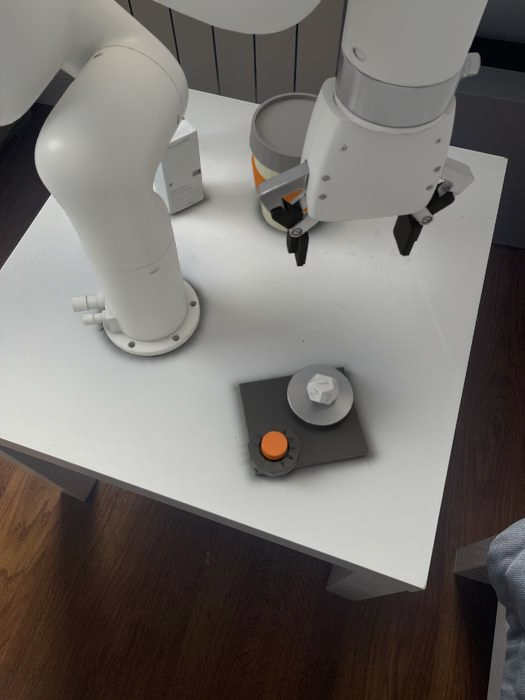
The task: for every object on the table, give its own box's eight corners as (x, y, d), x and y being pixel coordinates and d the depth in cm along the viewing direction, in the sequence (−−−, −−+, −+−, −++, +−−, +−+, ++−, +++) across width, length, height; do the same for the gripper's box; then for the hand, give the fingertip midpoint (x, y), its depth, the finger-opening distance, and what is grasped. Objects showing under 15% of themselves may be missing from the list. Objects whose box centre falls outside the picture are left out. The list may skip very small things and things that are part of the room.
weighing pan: (294, 431, 60) (295, 430, 59) (281, 371, 63) (281, 369, 63) (360, 420, 61) (361, 418, 60) (343, 361, 64) (343, 359, 64)
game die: (304, 381, 62) (306, 369, 60) (335, 380, 62) (339, 368, 60) (306, 409, 61) (308, 398, 58) (339, 408, 61) (343, 397, 58)
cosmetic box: (171, 216, 79) (158, 149, 68) (155, 198, 81) (140, 130, 70) (206, 198, 81) (199, 130, 70) (190, 181, 82) (181, 112, 72)
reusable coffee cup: (302, 256, 76) (312, 174, 62) (232, 214, 79) (228, 129, 66) (350, 203, 81) (369, 117, 67) (282, 167, 84) (288, 78, 71)
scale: (253, 484, 60) (253, 476, 57) (236, 389, 66) (235, 378, 63) (368, 463, 61) (373, 455, 59) (341, 371, 67) (345, 360, 64)
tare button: (263, 462, 59) (264, 457, 57) (259, 438, 60) (259, 433, 59) (289, 457, 59) (289, 453, 57) (283, 433, 60) (284, 429, 59)
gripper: (502, 34, 37) (428, 210, 52) (253, 49, 35) (250, 226, 50) (545, 106, 33) (452, 272, 48) (270, 126, 32) (262, 292, 47)
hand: (349, 248), depth 49 cm, fingers open, 9 cm apart
